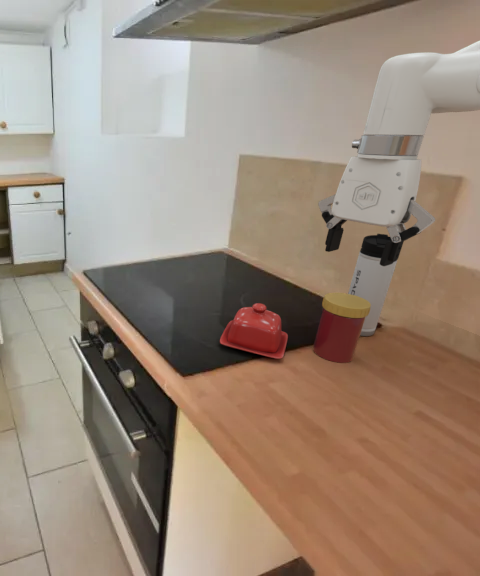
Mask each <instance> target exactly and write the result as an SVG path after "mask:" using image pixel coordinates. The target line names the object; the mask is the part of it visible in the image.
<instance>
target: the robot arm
mask: <svg viewBox="0 0 480 576" xmlns="http://www.w3.org/2000/svg"><path fill="white" fill-rule="evenodd" d="M475 111H477V112H478V111H480V40H478V41H475V42H473V43H471V44H469V45H467V46H465V47H462V48H461V49H459V50H457V51H455V52H453V53H439V52H433V51H432V52H430V51H429V52H428V51H426V52H423V51H422V52H412V53H403V54H398V55H395V56H392V57H390V58H388V59H386V60H385V61H384V62H383V64H382V65H381V67H380V68H379V72H378V75H377V79H376V84H375V87H374V90H373V95H372V98H371V102H370V106H369V110H368V115H367V118H366V122H365V125H364V129H363V133H362V134H363V135H361V136H360V138H359V139H353V140H352V142H351V148H352V149H356V150H357V151H356V153H357V156H354V155H353V156H351V157H350V159H349V161H348V163H346V164H347V165H346V167H345V169H344V171H343V173H342V176H341V178H340V181H339V184H338V185H337V190H336V192H335V194H332V195H330V196H328V197H326V198H324V199H321V200H319V201H318V208H319V209H320V210H319V211H320V213H321V217H322V219H323V221H324V222H325V226H326V229H327V234H326V238H325V242H324V244H325V248H324V250H325V252H327V253H329V252H335V251H338V250H339V249H340V245H341V242H342V239H343V234H344V227H342V226H343V225H344V224H345V223H347V222H348V221H349V222H354V223H359V224H366V225H369V226H375V227H376V226H377V227H384V228H386V230H387V232H388V236H389V237H391V240H390V241H388V242H386V244H385V247H384V251H383V254H382V257H381V260H380V265H381V266H387V265H391V264H393V262H395V261H397V262H398V260H399V256H400V255H401V252H402V248H403V245H404V242H406V241H407V240H409V239H411V238H413V237H415V236H417V235H419V234H421V233H422V232H423V231H424V230H426V229H428V227H430V226H431V225H433V224H434V223H435V222H436V217H434V215H432V214H431V213H430V212H428V211H427V210H426V209H425V208H424V207H423V206H422V205H420V204H419V203H418V202H417V201H416V200H417V195H418V192H419V187H420V180H421V172H422V158H421V159H420V158H418V157H419V153H420V150H421V147H422V144H423V141H424V138H425V135H426V131H427V128H428V125H429V122H430V118H431V115H432V114H445V113H446V114H447V113H463V112H464V113H466V112H467V113H468V112H475ZM412 216H413V217H414V218H415V219H416V220H417V221H416V222H415V223H414V225H412V226H411V227H408V228H407V227H406V223H408V222H409V220H410V219H411V217H412ZM397 259H398V260H397Z"/></svg>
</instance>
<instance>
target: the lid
mask: <svg viewBox="0 0 480 576" xmlns="http://www.w3.org/2000/svg"><path fill="white" fill-rule="evenodd" d="M370 306H371V304H370V302H368V301H367V300H365V299H363V298H361V297H358V296H355V295H351V294H348V293H345V292H329V293H326V294H325V295H324V296H323V299H322V303H321V307H322V309H323V308H324V309H326V310H327V311H329V312H331V313H333V314H336V315H339V316H343V317H349V318H363V317H366V316H368V314H369V312H370V308H371V307H370Z"/></svg>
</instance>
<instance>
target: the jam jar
mask: <svg viewBox="0 0 480 576" xmlns="http://www.w3.org/2000/svg"><path fill="white" fill-rule="evenodd" d="M364 321H365V317H363V318H349V317H343V316H339V315H336V314H333V313H331V312H329V311H327V310H326V309H324V308H323V307H322V310H321V314H320V317H319V322H318V326H317V330H316V334H315V339H314V342H313V346H312V351H313V353H314V354H315V355H317V356H318V357H320V358H322V359H324V360H326V361H330V362H333V363H340V364H344V363H345V364H346V363H350V362H352V361H353V360H354V357H355V354H356V350H357V347H358V343H359V340H360V337H361V336H360V334H361V330H362V327H363V324H364Z"/></svg>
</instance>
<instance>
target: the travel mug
mask: <svg viewBox="0 0 480 576" xmlns="http://www.w3.org/2000/svg"><path fill="white" fill-rule="evenodd" d="M390 240H391V237H390V235H389V234H384V233H377V234H370V235H366V236H365V237H363V239H362V243H361V248H360V250H359V253H358V256H357V260H356V263H355V267H354V271H353V274H352V278H351V281H350V285H349V289H348V291H347V294H351V295H355V296H358V297H361V298H363V299H365V300H367V301H368V302H370V304H371V306H370V307H371V308H370V312H369V314H368V316H366V317H365V321H364V324H363V327H362V330H361V334H360V337H371V336H373V335H375V332H376V329H377V326H378V323H379V320H380V317H381V314H382V311H383V307H384V304H385V301H386V298H387V295H388V292H389V288H390V285H391V283H392V279H393V276H394V273H395V269H396V266H397V264H398V260H399V258H398V259H397V261H395V262H393V264H391V265H387V266H381V265H380V260H381V257H382V254H383V251H384V247H385V244H386V242H388V241H390Z"/></svg>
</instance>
